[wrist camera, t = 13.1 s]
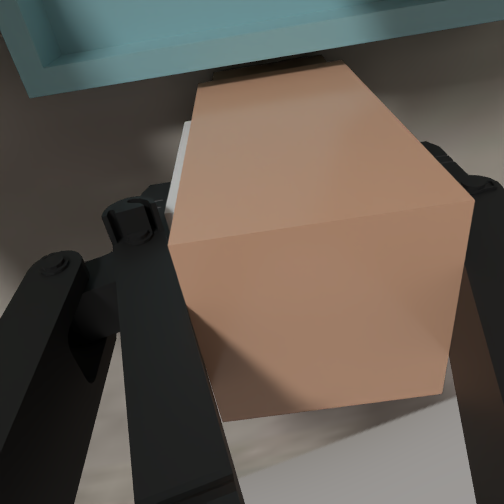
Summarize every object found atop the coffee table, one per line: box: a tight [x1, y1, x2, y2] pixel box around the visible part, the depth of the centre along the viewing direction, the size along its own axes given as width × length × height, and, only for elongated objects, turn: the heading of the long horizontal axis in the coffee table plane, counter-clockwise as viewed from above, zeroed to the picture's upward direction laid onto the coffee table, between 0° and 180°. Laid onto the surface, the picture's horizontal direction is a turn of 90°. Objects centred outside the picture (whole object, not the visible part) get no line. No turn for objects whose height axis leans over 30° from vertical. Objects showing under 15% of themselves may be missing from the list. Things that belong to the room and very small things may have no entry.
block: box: [168, 60, 475, 422], centre depth 13 cm, size 5×5×10 cm
